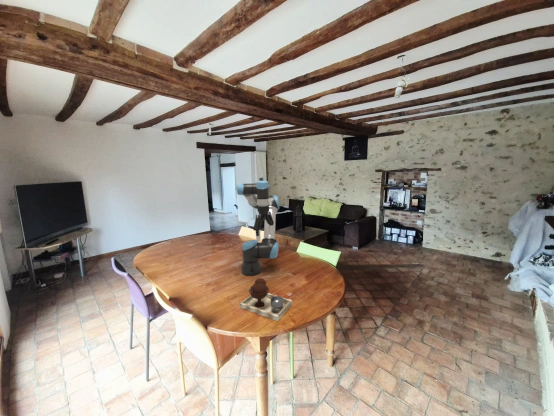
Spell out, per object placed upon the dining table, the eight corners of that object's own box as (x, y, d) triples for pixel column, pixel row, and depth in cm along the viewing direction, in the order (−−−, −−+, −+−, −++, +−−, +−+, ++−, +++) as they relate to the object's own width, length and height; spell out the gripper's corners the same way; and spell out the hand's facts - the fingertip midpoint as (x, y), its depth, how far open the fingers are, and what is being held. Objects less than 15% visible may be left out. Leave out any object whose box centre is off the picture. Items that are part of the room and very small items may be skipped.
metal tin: (269, 311, 119) (268, 300, 118) (275, 304, 125) (274, 294, 124) (279, 314, 116) (279, 304, 115) (285, 308, 122) (285, 298, 121)
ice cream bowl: (250, 299, 130) (248, 275, 128) (269, 298, 131) (268, 274, 128) (248, 311, 120) (247, 285, 117) (269, 309, 120) (268, 283, 118)
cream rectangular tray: (240, 309, 123) (239, 303, 123) (257, 295, 137) (256, 289, 136) (277, 323, 111) (277, 316, 111) (292, 306, 125) (292, 300, 124)
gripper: (256, 208, 130) (258, 244, 133) (278, 202, 151) (279, 233, 155) (246, 208, 134) (248, 242, 137) (268, 202, 155) (269, 232, 158)
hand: (264, 237), depth 146 cm, fingers open, 13 cm apart
